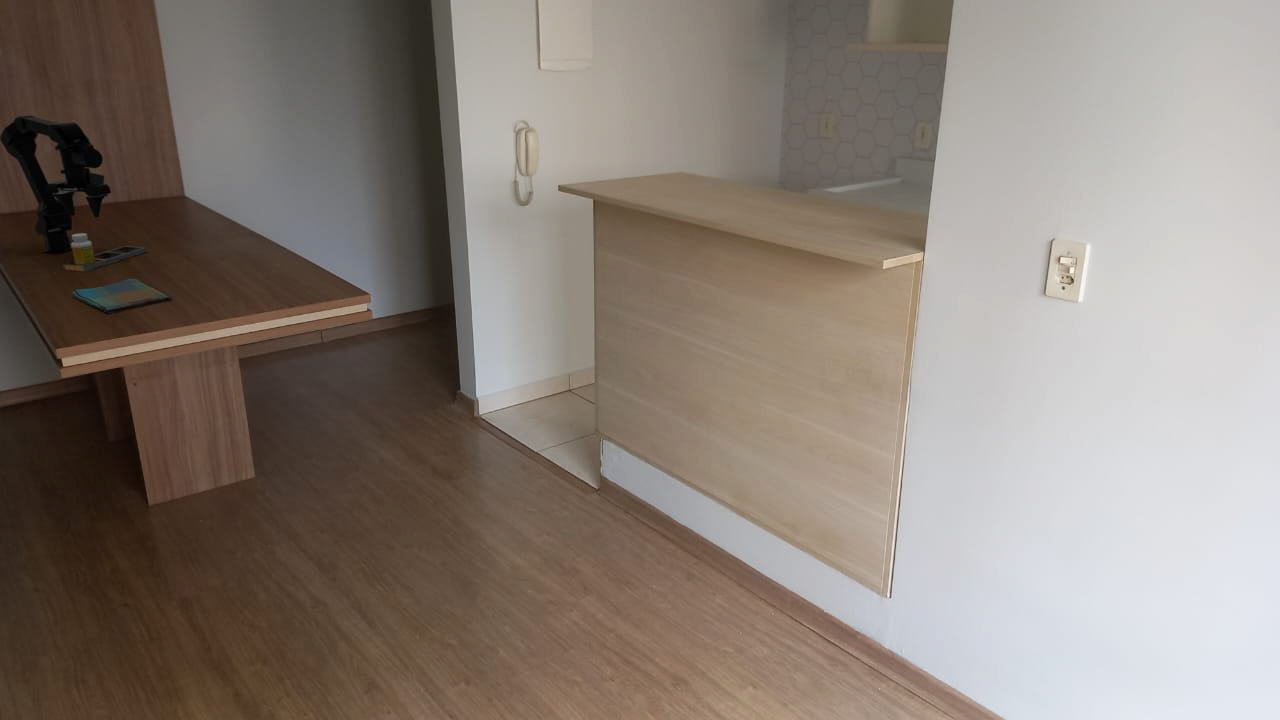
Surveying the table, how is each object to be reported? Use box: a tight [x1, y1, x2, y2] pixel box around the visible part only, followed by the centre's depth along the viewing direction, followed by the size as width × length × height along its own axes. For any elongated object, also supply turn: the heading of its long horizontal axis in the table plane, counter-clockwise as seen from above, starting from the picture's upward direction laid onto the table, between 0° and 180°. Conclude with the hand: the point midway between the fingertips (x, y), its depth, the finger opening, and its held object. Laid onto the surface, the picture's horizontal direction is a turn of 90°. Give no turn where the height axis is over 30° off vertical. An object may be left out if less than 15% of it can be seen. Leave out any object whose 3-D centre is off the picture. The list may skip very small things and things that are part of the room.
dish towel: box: [72, 278, 172, 314], centre depth 245 cm, size 17×23×2 cm
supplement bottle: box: [70, 232, 96, 266], centre depth 272 cm, size 5×5×10 cm
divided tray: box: [61, 245, 149, 273], centre depth 281 cm, size 9×24×2 cm, turn 164°
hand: (85, 216), depth 280 cm, fingers open, 9 cm apart
